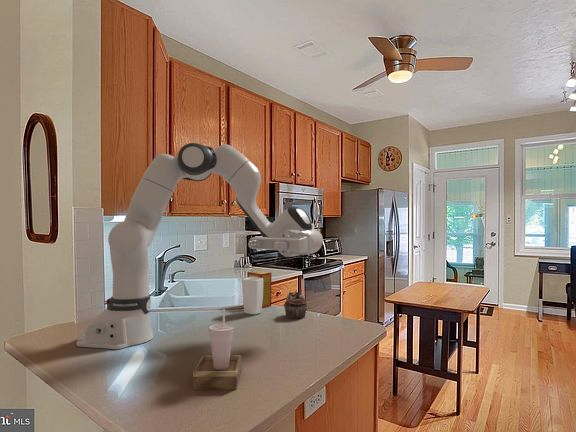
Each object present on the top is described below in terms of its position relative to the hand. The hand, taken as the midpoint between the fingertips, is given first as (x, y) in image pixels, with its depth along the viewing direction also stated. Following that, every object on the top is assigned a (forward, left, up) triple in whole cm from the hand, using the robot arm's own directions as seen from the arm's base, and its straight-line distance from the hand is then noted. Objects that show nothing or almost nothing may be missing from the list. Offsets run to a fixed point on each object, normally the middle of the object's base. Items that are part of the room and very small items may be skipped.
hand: (261, 244), depth 102 cm
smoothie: (-9, -17, -29) cm, 35 cm away
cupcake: (+13, +40, -32) cm, 53 cm away
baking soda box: (-3, +59, -32) cm, 67 cm away
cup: (-5, +45, -32) cm, 55 cm away
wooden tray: (-9, -17, -32) cm, 38 cm away
